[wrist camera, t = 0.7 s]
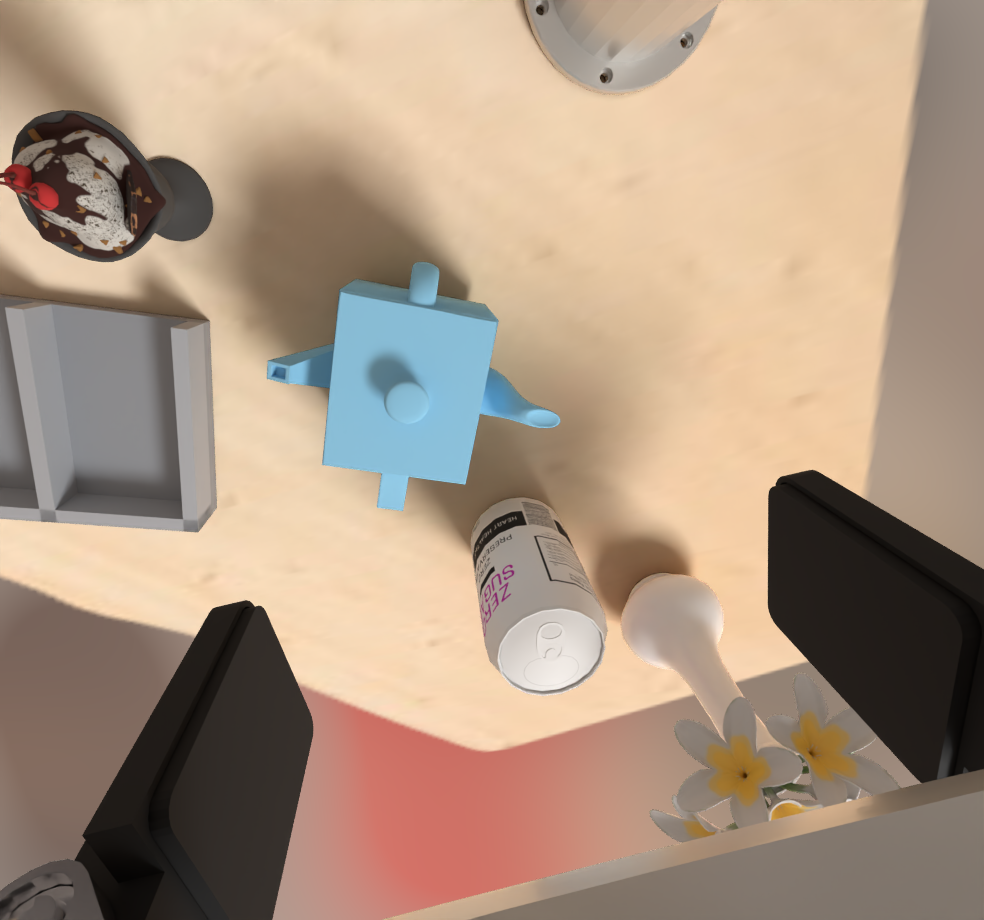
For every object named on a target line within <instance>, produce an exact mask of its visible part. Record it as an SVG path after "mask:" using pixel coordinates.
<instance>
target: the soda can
mask: <svg viewBox="0 0 984 920" xmlns="http://www.w3.org/2000/svg"><path fill="white" fill-rule="evenodd" d="M470 545H471V551H472V558H473V565H474V572H475V579H476V586H477V593H478V599H479V606H480V613H481V620H482V627H483V634H484V641H485V646H486V650H487V653H488V656H489V660H490V662H491V663H492V664H493V665H494V666H495V668H496V669H497V670H498V671H499V672H500V673H501V675H502V676H503V677H504V678H505V679H506V680H507V681H508V683H509V684H510V685H511V686H513V687H515V688H517V689H518V690H520V691H522V692H524V693H527V694H534V695H541V696H546V695H554V694H562V693H564V692H566V691H569V690H571V689H574V688H576V687H578V686H580V685H581V684H582V683H584V682H585V681H586V680H588V679H589V678H590V677H591V676H592V675H593V674H594V673H595V671H596V670H597V668H598V667H599V665H600V664H601V663H602V659H603V655H604V651H605V639H606V635H607V631H608V630H607V624H606V619H605V614H604V611H603V609H602V607H601V605H600V603H599V601H598V599H597V597H596V594H595V592H594V590H593V588H592V586H591V584H590V582H589V580H588V578H587V575H586V573H585V571H584V569H583V567H582V565H581V563H580V561H579V558H578V556H577V554H576V552H575V550H574V548H573V546H572V544H571V542H570V539H569V537H568V535H567V533H566V531H565V529H564V527H563V525H562V522H561V521H560V519H559V518H558V516H557V515H556V513H555V512H554V510H553V509H552V508H550V507H549V506H547V505H546V504H544V503H542V502H541V501H539V500H534V499H530V498H526V497H521V498H510V499H506V500H503V501H501V502H499V503H496V504H494V505H492V506H491V507H490V508H488V509H487V510H486V511H485V512H484V513H483V514H482V515H481V516H480V517H479V518H478V520H477V522H476V524H475V526H474V528H473V529H472V536H471V544H470Z"/></svg>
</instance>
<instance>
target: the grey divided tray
mask: <svg viewBox="0 0 984 920" xmlns="http://www.w3.org/2000/svg"><path fill="white" fill-rule="evenodd" d="M216 508H217V498H216V473H215V447H214V421H213V396H212V370H211V344H210V321H207V320H199V319H191V318H183V317H176V316H168V315H160V314H152V313H144V312H136V311H128V310H120V309H112V308H104V307H96V306H88V305H80V304H73V303H65V302H57V301H49V300H41V299H33V298H25V297H17V296H9V295H1V294H0V519H12V520H26V521H41V522H56V523H70V524H85V525H99V526H114V527H128V528H143V529H158V530H172V531H187V532H199V531H200V529H201V528H202V527H203V525H204V524H205V523H206V521H207V520H208V519H209V517H210V516H211V515H212V513H213V512H214V511H215V509H216Z"/></svg>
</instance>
